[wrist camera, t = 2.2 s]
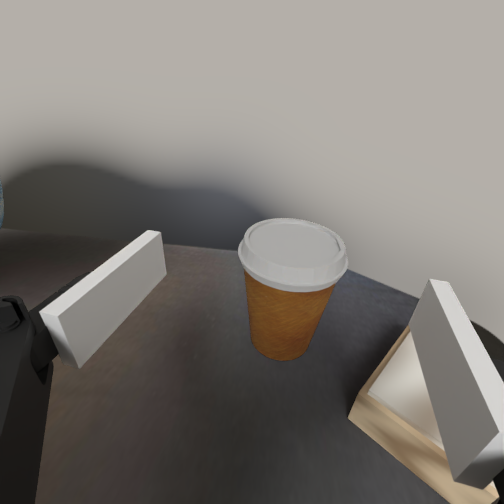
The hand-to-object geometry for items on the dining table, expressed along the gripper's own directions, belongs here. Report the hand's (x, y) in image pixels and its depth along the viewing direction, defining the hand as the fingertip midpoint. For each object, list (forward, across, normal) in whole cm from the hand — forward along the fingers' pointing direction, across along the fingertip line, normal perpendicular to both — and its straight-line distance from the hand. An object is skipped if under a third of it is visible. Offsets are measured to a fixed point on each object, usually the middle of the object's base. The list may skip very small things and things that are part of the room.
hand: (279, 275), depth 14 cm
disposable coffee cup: (+10, 0, -15) cm, 18 cm away
